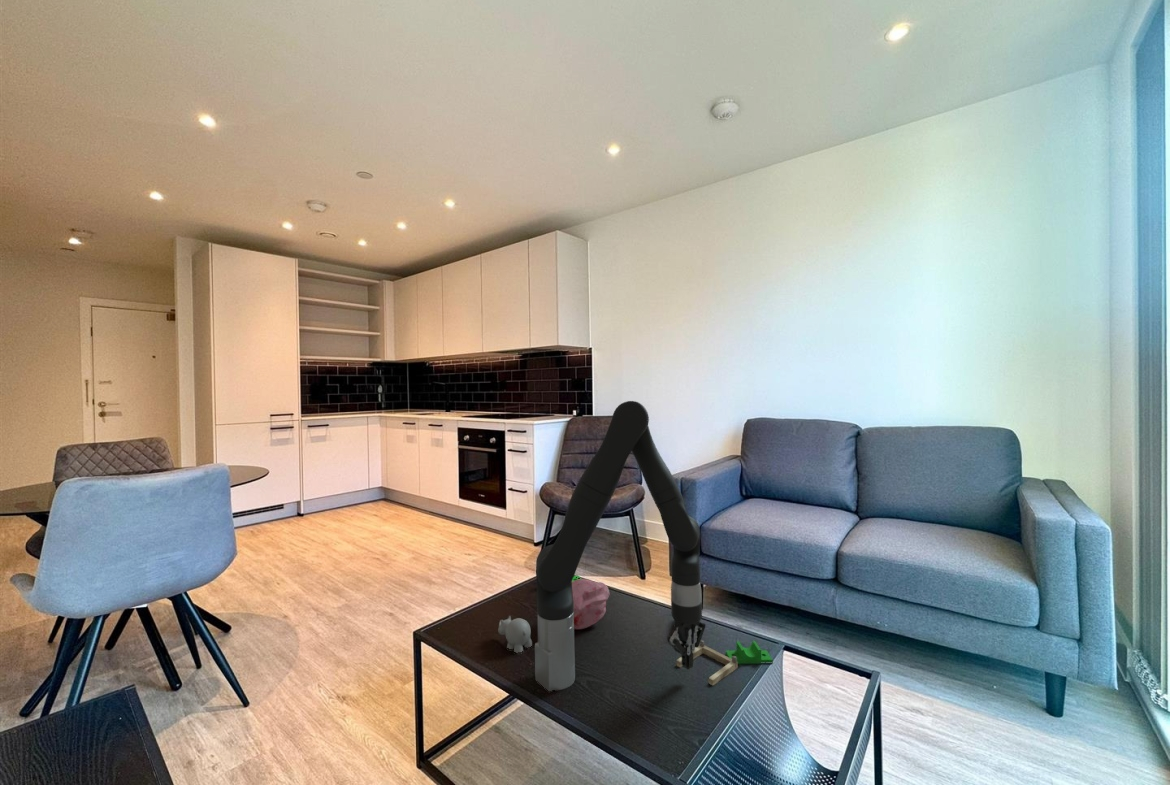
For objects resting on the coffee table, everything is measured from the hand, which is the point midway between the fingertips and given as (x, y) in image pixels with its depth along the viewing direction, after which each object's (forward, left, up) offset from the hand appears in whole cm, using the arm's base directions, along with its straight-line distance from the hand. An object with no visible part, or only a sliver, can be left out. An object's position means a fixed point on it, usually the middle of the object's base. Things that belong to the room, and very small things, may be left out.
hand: (687, 666), depth 113 cm
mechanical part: (+12, +65, -5) cm, 66 cm away
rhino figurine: (-24, +44, -4) cm, 50 cm away
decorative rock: (-3, +39, -4) cm, 40 cm away
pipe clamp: (+21, -1, -1) cm, 21 cm away
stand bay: (+9, 0, -4) cm, 9 cm away
